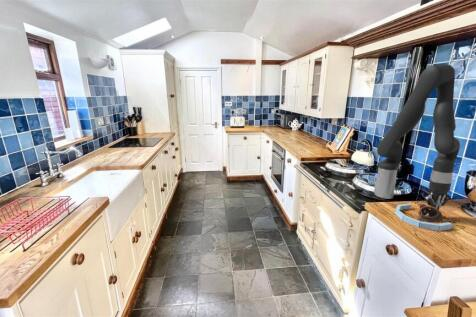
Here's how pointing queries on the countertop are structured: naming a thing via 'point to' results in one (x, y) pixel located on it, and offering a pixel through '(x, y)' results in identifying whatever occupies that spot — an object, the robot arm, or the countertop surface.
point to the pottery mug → (433, 214)
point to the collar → (419, 223)
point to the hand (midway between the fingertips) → (434, 213)
